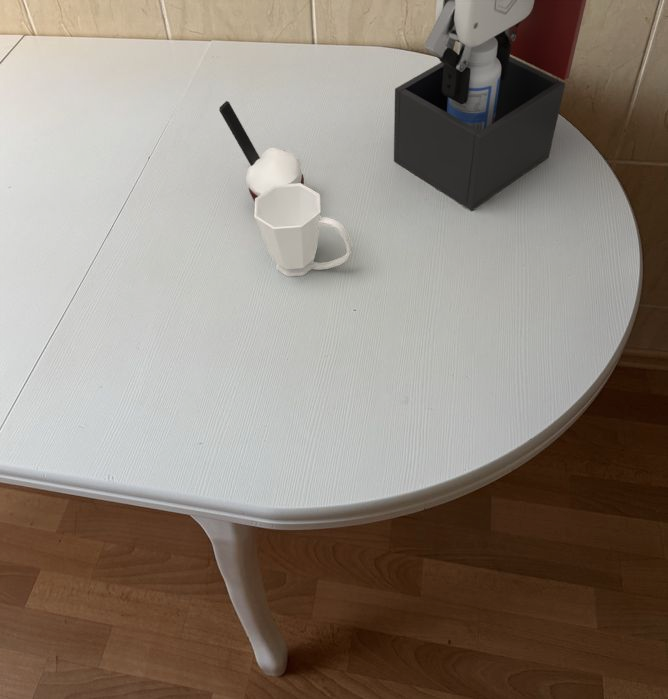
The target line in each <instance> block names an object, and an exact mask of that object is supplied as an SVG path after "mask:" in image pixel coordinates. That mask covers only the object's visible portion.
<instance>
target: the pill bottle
mask: <svg viewBox="0 0 668 699" xmlns="http://www.w3.org/2000/svg"><path fill="white" fill-rule="evenodd" d="M461 46H462V44H461V43H459V42H458V46H457V52H456V53H458V55H459V52H460V49H461ZM497 46H498V42H497V40H496V39H495V38H494V37H493V38H491V39H489V40H487V41H485V42H484V43H482V44H480V45H478V46H475V47H473V48H472V51H471V54H470V57H469V61H468V64H467V67H468V68H470V69H471V73H470V82H469V91H468V99H467V102H466V103H464V104H460V103H458V102H456V101H454V100H452V99H450V98H449V97H448V105H447V113H449V114H450V115H452V116H454V117H456V118H458V119H459V120H461V121H463V122H465V123H466V124H468V125H470V126H472V127H474V128H475V129H477V130H479V131H480V132H481V131H482V130H484V129H485V128H487V127H488V126H490V125H492V124H493V123H494V121H495V114H496V107H497V99H498V92H499V84H500V77H501V63H500V61H499V60H498V59H497V58H496V55H497Z"/></svg>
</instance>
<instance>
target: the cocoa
mask: <svg viewBox="0 0 668 699" xmlns="http://www.w3.org/2000/svg"><path fill="white" fill-rule="evenodd" d="M218 111H219V112H220V114H221V116H222V118H223V120H224V122H225V123H226V125H227V127H228V128H229V130H230V132H231V134H232V135H233V137H234V140H235V141H236V142H237V144H238V146H239V147H240V150H241V152H242V153H243V155H244V157H245V158H246V160H247V161H248V164H249V166H248V169H247V172H246V177H245V183H246V185H247V188H248V191H249V194H250V196H251V198H252V200H253V201H254V202H255V198H257V197H258V196H260V195H261V194H262V193H264V192H265V191H267V190H268V189H269V188H271V187H272V186H274V185H282V184H296V183H301V184H303V185H305V178H304V174H303V172H302V167H301V161H300V158H299V157H296V156H295V155H294V154H293V153H291V152H290V151H286V150H281V149H279V148H277V147H274V146H272V147H270V148H266V149H265V151H264V152H263V153H262V154H261V155H259V153H258V152H257V149H256V148H255V146H254V144H253V143H252V140H251V139H250V137H249V134H247V132H246V130H245V128H244V126H243V125H242V123H241V121H240V119H239V118H238V116H237V114H236V112H235V110H234V108H233V107H232V105H231V103H230V101H227V100H226V101H224V102H223V103H222V104H221V106H219V110H218Z"/></svg>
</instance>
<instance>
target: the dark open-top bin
mask: <svg viewBox="0 0 668 699" xmlns="http://www.w3.org/2000/svg"><path fill="white" fill-rule="evenodd" d="M456 53H457V52H456ZM457 54H458V53H457ZM443 67H444V63H442V62H441V61H440V62H439V63H438V64H436V65H433V66H432V67H430V68H429V69H427V70H425V71H423V72H422V73H420V74H418V75H416V76H414V77H413V78H412V79H409V80H408V81H406V82H404V83H402V84H401V85H398V86H397V87H395V88H394V119H393V120H394V121H393V122H394V124H393V125H394V126H393V130H394V131H393V136H394V137H393V162H395V163H396V164H398V165H399V166H401V167H402V168H404V169H405V170H407V171H409V173H411V174H413V175H414V176H416V177H418V178H419V179H421V180H422V181H424V182H425V183H427V184H428V185H430V186H431V187H433V188H435V189H436V190H438V191H440V192H441V193H443V194H444V195H446V196H447V197H449V198H450V199H451V200H454V201H455V202H457V204H460V205H462V206H463V207H464V208H466V209H468V210H469V211H471V212H472V211H474V210H475V209H476V208H478V207H479V206H480V205H483V204H484V203H486V202H487V201H488V200H489V199H491V198H492V197H494V196H496V195H497V194H498V193H500V192H501V191H503V190H504V189H505V188H506V187H509V186H510V185H511V184H512V183H514V182H515V181H517V180H518V179H520V178H521V177H522V176H524V175H526V174H527V173H529V172H530V171H532V170H533V169H534V168H536V167H537V166H538V165H540V164H541V163H543V162H545V161H546V160H547V159H549V157H550V153H551V149H552V144H553V140H554V135H555V131H556V127H557V123H558V117H559V113H560V110H561V104H562V100H563V95H564V92H565V89H566V83H565V82H564V81H561V80H560V79H558V78H557V77H556V78H555V76H554V77H553V76H551V75H549V74H548V73H546V72H543V71H542V70H540V69H537V68H536V67H534V66H532V65H531V66H530V64H529V65H528V63H526V62H525V63H524V62H522V61H521V60H519V59H517V58H514V57H512V56H510V58H509V64H508V71H507V77H506V78H505V79H503V80H500V84H499V92H498V99H497V107H496V114H495V121H494V123H493V124H492V125H490V126H488V127H487V128H485V129H484V130H482V131H481V132H480V131H479V130H477V129H475V128H474V127H472V126H470V125H468V124H466V123H465V122H463V121H461V120H459V119H458V118H456V117H454V116H452V115H450V114H449V113H447V105H448V97H447V96H445V95H443V93H442V80H443Z"/></svg>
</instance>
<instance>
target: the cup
mask: <svg viewBox="0 0 668 699" xmlns="http://www.w3.org/2000/svg"><path fill="white" fill-rule="evenodd" d="M253 216H254V220H255V223H256V225H257V228H258V230H259V232H260V234H261V237H262V241H263V242H264V245H265V247H266V250H267V252H268V253H269V255H270V257H271V259H272V260H273V262H274V263H275V269H276V270H277V271H278V272H279V273H281V274H282V275H284V276H286V277H288V278H290V277H303V276H305V275H306V274H308V272H310V271H311V270H315V271H321V270H322V271H323V270H328V269H331V268H335V267H338V266H340V265H342V264H343V263H345V262H346V261H348V259H349V258H350V255H351V252H352V249H353V245H352V239H351V237H350V234H349V232H348V230H347V229H346V227H345V226H343V224H342V223H340V221H338V220H336V219H332V218H329V217H326V216H321V194H320V193H318V192H317V191H315V190H313V189H311V188H310V187H308V186H306V185H305V184H304V185H303V184H301V183H296V184H282V185H274V186H272V187H271V188H269V189H268V190H267V191H265V192H264V193H262V194H261V195H260V196H258V197H257V198H255V201H254V215H253ZM321 227H323V228H324V227H326V228H331V229H334V230H335V231H336V232H337V233H338V234H339V235H340V236H341V237H342V240H343V242H344V244H345V248H346V254H344V255H342V256H341V257H339V258H335V259H333V260H330V261H326V262H317V261H315V259H316V254H317V249H318V245H319V244H318V243H319V233H320V232H319V231H320V228H321Z"/></svg>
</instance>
